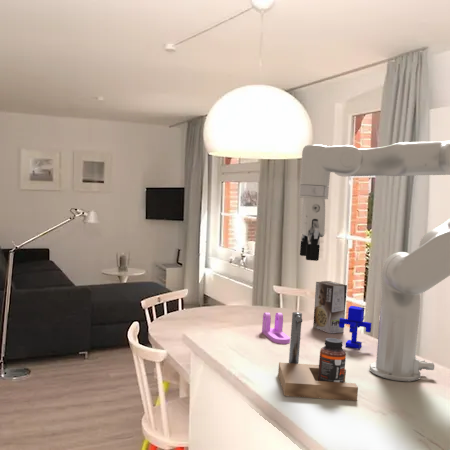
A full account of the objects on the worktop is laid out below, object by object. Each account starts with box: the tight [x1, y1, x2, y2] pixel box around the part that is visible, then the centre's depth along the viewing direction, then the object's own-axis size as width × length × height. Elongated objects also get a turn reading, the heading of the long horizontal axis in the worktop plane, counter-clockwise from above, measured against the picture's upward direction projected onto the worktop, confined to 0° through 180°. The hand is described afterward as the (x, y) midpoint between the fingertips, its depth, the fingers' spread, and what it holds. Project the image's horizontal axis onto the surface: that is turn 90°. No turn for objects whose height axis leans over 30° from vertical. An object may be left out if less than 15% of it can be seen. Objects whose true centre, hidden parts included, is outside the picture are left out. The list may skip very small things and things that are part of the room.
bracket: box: [261, 312, 291, 345], centre depth 161 cm, size 13×6×7 cm, turn 14°
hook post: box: [288, 311, 303, 364], centre depth 128 cm, size 4×6×15 cm, turn 0°
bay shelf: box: [277, 361, 359, 402], centre depth 120 cm, size 16×14×3 cm
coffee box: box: [312, 280, 348, 334], centre depth 175 cm, size 9×6×16 cm
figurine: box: [339, 305, 372, 350], centre depth 156 cm, size 8×8×12 cm
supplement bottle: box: [317, 337, 347, 383], centre depth 120 cm, size 6×6×11 cm
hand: (308, 258), depth 135 cm, fingers open, 9 cm apart
